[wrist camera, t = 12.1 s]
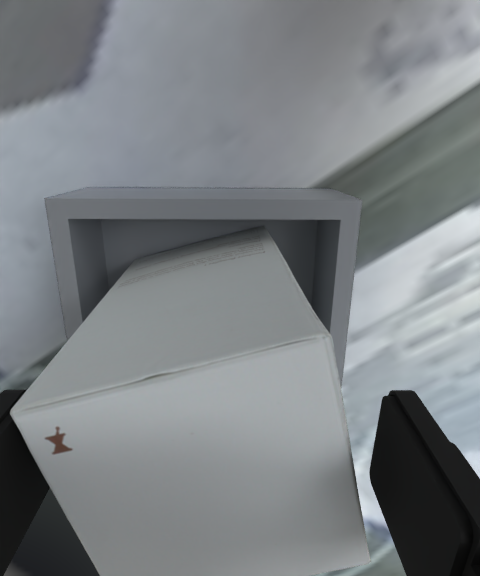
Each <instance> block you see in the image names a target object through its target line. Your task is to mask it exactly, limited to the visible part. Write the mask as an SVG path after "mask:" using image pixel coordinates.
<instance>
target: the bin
mask: <svg viewBox="0 0 480 576" xmlns="http://www.w3.org/2000/svg"><path fill="white" fill-rule="evenodd" d="M44 199H45V205H46V212H47V218H48V224H49V231H50V237H51V243H52V249H53V256H54V262H55V268H56V275H57V281H58V287H59V293H60V300H61V306H62V312H63V319H64V325H65V331H66V337H67V341H68V340H69V339H70V337H71V336H72V335H73V334H74V333H75V331H76V330H77V329H78V328H79V327H80V325H81V324H82V323H83V322H84V321H85V319H86V318H87V317H88V316H89V314H90V313H91V312H92V311H93V310H94V308H95V307H96V306H97V305H98V303H99V302H100V301H101V300H102V299H103V298H104V296H105V295H106V294H107V293H108V292H109V290H110V289H111V288H112V287H113V286H114V284H115V283H116V282H117V281H118V279H119V278H120V277H121V276H122V274H123V273H124V272H125V271H126V270H127V269H128V267H129V266H130V265H131V264H132V263H133V261H134V260H135V259H138V258H142V257H146V256H150V255H153V254H157V253H161V252H165V251H168V250H172V249H176V248H179V247H183V246H187V245H191V244H194V243H198V242H202V241H206V240H209V239H213V238H217V237H221V236H224V235H228V234H232V233H236V232H240V231H244V230H248V229H253V228H257V227H261V226H264V227H265V228H266V229H267V231H268V232H269V234H270V236H271V238H272V239H273V240H274V242H275V244H276V245H277V247H278V249H279V250H280V252H281V254H282V256H283V258H284V259H285V261H286V263H287V264H288V266H289V268H290V270H291V272H292V274H293V276H294V277H295V279H296V281H297V283H298V285H299V286H300V288H301V290H302V291H303V293H304V295H305V297H306V299H307V300H308V302H309V304H310V305H311V307H312V309H313V310H314V312H315V313H316V315H317V317H318V318H319V320H320V321H321V322H322V324H323V325H324V326H325V328H326V329H327V331H328V332H329V333H330V335H331V336H332V339H333V344H334V351H335V357H336V363H337V369H338V375H339V380H340V386H342V377H343V368H344V359H345V350H346V342H347V333H348V324H349V315H350V306H351V297H352V288H353V279H354V270H355V261H356V252H357V243H358V234H359V225H360V217H361V208H362V200H361V199H359V198H356V197H353V196H350V195H348V194H345V193H342V192H339V191H337V190H334V189H331V188H144V187H87V188H83V189H79V190H75V191H71V192H67V193H64V194H60V195H56V196H52V197H48V198H44Z"/></svg>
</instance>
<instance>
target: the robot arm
mask: <svg viewBox="0 0 480 576" xmlns="http://www.w3.org/2000/svg"><path fill="white" fill-rule="evenodd" d="M26 391H27V390H4V391H3V392H1V393H0V576H3V575H4V573H5V571H6V569H7V568H8V565H9V563H10V562H11V560H12V558H13V556H14V554H15V552H16V550H17V549H18V547H19V545H20V543H21V541H22V539H23V537H24V535H25V533H26V531H27V529H28V528H29V526H30V524H31V522H32V520H33V518H34V516H35V514H36V513H37V511H38V509H39V507H40V505H41V503H42V501H43V499H44V498H45V496H46V494H47V492H48V490H49V488H50V487H49V485H48V483H47V481H46V480H45V478H44V476H43V474H42V472H41V471H40V469H39V467H38V465H37V463H36V461H35V460H34V458H33V456H32V454H31V452H30V450H29V449H28V446H27V444H26V442H25V440H24V438H23V436H22V434H21V432H20V430H19V429H18V427H17V425H16V424H15V422H14V420H13V419H12V417H11V415H10V411H11V409H12V408H13V406H14V405H15V404H16V403H17V402H18V400H19V399H20V398H21V397H22V395H23V394H24V393H25V392H26ZM370 480H371V484H372V487H373V490H374V492H375V495H376V497H377V500H378V503H379V505H380V508H381V510H382V513H383V516H384V518H385V521H386V523H387V526H388V529H389V531H390V534H391V536H392V539H393V542H394V544H395V547H396V549H397V552H398V554H399V557H400V560H401V562H402V565H403V567H404V570H405V573H406V575H407V576H480V479H479V477H478V476H477V474H476V473H475V471H474V470H473V469H472V467H471V466H470V464H469V463H468V462H467V460H466V459H465V457H464V456H463V454H462V453H461V452H460V450H459V449H458V448H457V447H456V445H455V444H453V443H451V442H449V440H448V439H447V437H446V436H445V434H444V433H443V432H442V430H441V429H440V427H439V426H438V424H437V423H436V421H435V420H434V419H433V417H432V416H431V414H430V413H429V411H428V410H427V408H426V407H425V406H424V404H423V403H422V401H421V400H420V398H419V397H418V395H417V394H416V393H415V392H414V391H412V390H392V391H390V393H389V395H388V396H384V397H383V399H382V403H381V409H380V415H379V420H378V426H377V432H376V437H375V443H374V449H373V454H372V460H371V466H370Z"/></svg>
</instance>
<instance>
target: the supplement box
mask: <svg viewBox="0 0 480 576" xmlns="http://www.w3.org/2000/svg"><path fill="white" fill-rule="evenodd" d="M10 415H11V417H12V419H13V420H14V422H15V424H16V425H17V427H18V429H19V430H20V432H21V434H22V436H23V438H24V440H25V442H26V444H27V446H28V449H29V450H30V452H31V454H32V456H33V458H34V460H35V461H36V463H37V465H38V467H39V469H40V471H41V472H42V474H43V476H44V478H45V480H46V481H47V483H48V485H49V487H50V488H51V490H52V492H53V493H54V495H55V497H56V499H57V500H58V502H59V504H60V506H61V508H62V509H63V511H64V513H65V515H66V517H67V519H68V520H69V522H70V523H71V525H72V527H73V529H74V530H75V532H76V534H77V536H78V538H79V539H80V541H81V543H82V544H83V547H84V548H85V550H86V552H87V554H88V555H89V557H90V559H91V561H92V562H93V564H94V566H95V567H96V569H97V571H98V573H99V574H100V576H310V575H315V574H320V573H324V572H330V571H335V570H340V569H345V568H350V567H355V566H360V565H366V564H369V563H370V562H371V559H370V555H369V551H368V546H367V540H366V534H365V528H364V523H363V517H362V512H361V506H360V501H359V495H358V489H357V482H356V476H355V470H354V464H353V458H352V452H351V446H350V440H349V434H348V428H347V422H346V415H345V410H344V404H343V398H342V392H341V386H340V380H339V375H338V369H337V363H336V357H335V351H334V344H333V339H332V336H331V335H330V333H329V332H328V331H327V329H326V328H325V326H324V325H323V324H322V322H321V321H320V320H319V318H318V317H317V315H316V313H315V312H314V310H313V309H312V307H311V305H310V304H309V302H308V300H307V299H306V297H305V295H304V293H303V291H302V290H301V288H300V286H299V285H298V283H297V281H296V279H295V277H294V276H293V274H292V272H291V270H290V268H289V266H288V264H287V263H286V261H285V259H284V258H283V256H282V254H281V252H280V250H279V249H278V247H277V245H276V244H275V242H274V240H273V239H272V238H271V236H270V234H269V232H268V231H267V229H266V228H265V227H264V226H261V227H257V228H253V229H248V230H244V231H240V232H236V233H232V234H228V235H224V236H221V237H217V238H213V239H209V240H206V241H202V242H198V243H194V244H191V245H187V246H183V247H179V248H176V249H172V250H168V251H165V252H161V253H157V254H153V255H150V256H146V257H142V258H138V259H135V260H134V261H133V263H132V264H131V265H130V266H129V267H128V269H127V270H126V271H125V272H124V273H123V274H122V276H121V277H120V278H119V279H118V281H117V282H116V283H115V284H114V286H113V287H112V288H111V289H110V290H109V292H108V293H107V294H106V295H105V296H104V298H103V299H102V300H101V301H100V302H99V303H98V305H97V306H96V307H95V308H94V310H93V311H92V312H91V313H90V314H89V316H88V317H87V318H86V319H85V321H84V322H83V323H82V324H81V325H80V327H79V328H78V329H77V330H76V331H75V333H74V334H73V335H72V336H71V337H70V339H69V340H68V341H67V342H66V343H65V345H64V346H63V347H62V348H61V350H60V351H59V352H58V353H57V354H56V356H55V357H54V358H53V359H52V361H51V362H50V363H49V364H48V365H47V366H46V368H45V369H44V370H43V371H42V372H41V374H40V375H39V376H38V377H37V379H36V380H35V381H34V382H33V383H32V385H31V386H30V387H29V388H28V389H27V391H26V392H25V393H24V394H23V395H22V397H21V398H20V399H19V400H18V402H17V403H16V404H15V405H14V406H13V408H12V409H11V411H10Z"/></svg>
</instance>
